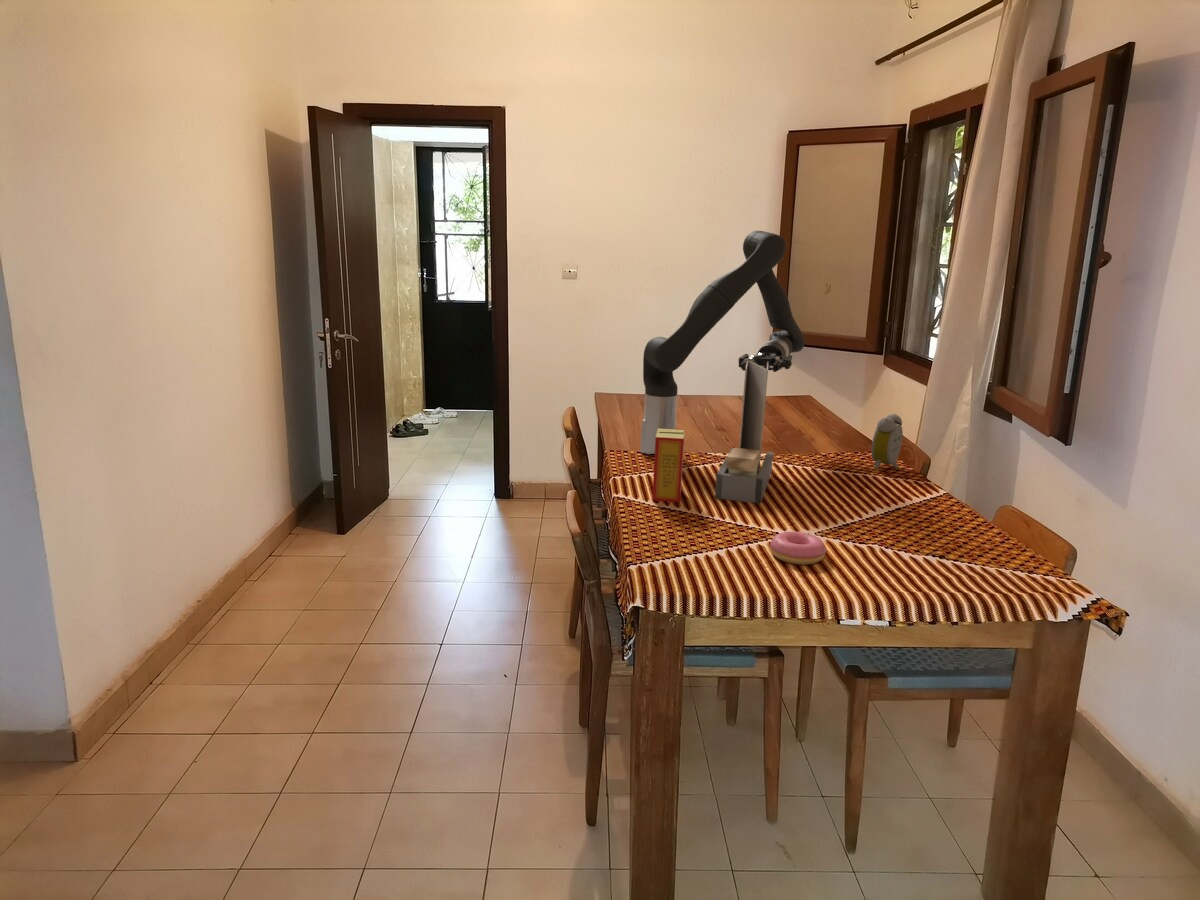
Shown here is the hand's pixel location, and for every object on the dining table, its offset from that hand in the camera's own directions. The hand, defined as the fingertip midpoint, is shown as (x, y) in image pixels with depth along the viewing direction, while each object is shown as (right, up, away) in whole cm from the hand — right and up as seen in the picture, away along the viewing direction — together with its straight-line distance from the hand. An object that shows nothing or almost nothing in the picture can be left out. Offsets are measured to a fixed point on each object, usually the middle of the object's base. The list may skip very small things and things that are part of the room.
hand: (758, 367), depth 223 cm
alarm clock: (+37, -28, +7) cm, 47 cm away
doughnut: (-4, -44, -59) cm, 74 cm away
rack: (-6, -31, -14) cm, 35 cm away
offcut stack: (-8, -33, -20) cm, 39 cm away
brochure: (-4, -30, -7) cm, 31 cm away
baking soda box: (-27, -34, -24) cm, 50 cm away
